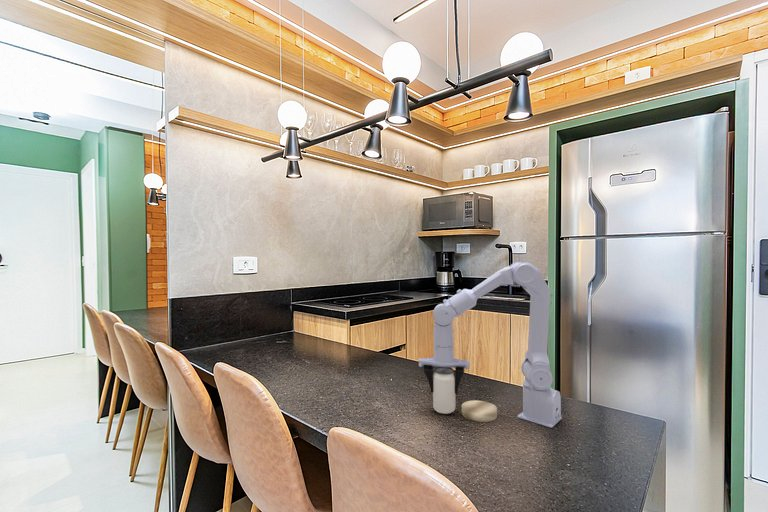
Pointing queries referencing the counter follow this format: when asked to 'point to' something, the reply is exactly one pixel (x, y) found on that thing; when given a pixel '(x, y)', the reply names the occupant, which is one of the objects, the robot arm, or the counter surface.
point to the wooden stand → (479, 411)
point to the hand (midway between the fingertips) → (444, 391)
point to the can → (444, 390)
